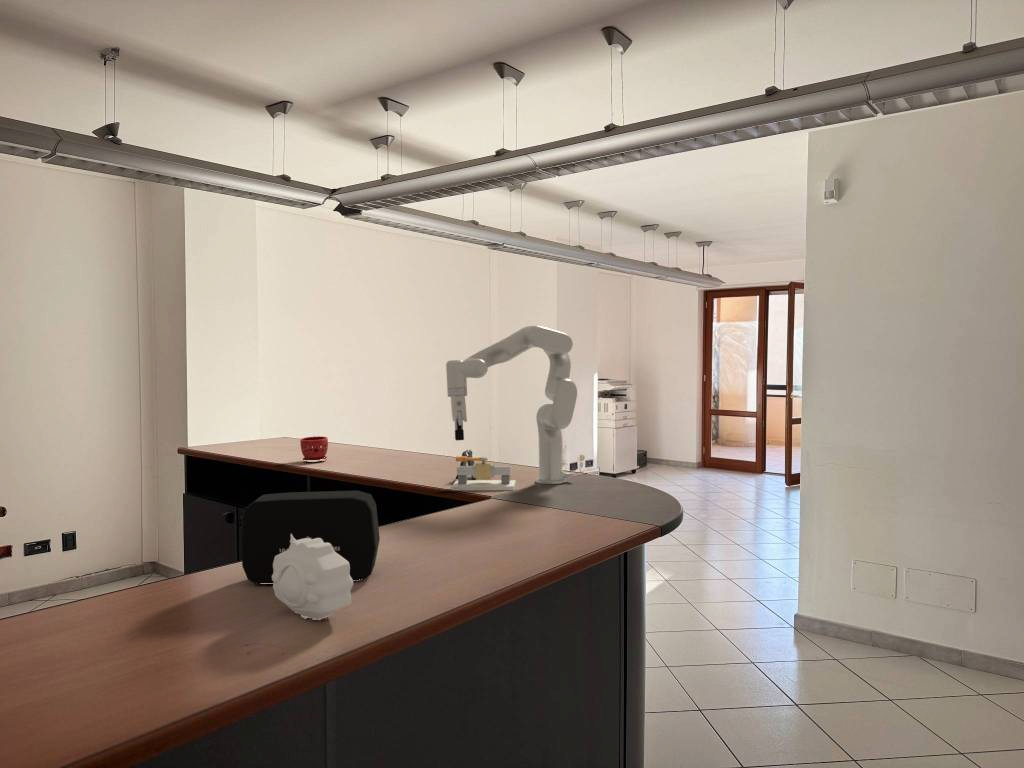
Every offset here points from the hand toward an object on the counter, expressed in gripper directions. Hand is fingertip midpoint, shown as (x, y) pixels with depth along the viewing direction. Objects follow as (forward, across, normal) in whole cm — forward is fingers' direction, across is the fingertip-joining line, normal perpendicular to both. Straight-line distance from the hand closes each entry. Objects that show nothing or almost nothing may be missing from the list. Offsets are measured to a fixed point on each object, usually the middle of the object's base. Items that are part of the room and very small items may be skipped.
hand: (459, 439), depth 271 cm
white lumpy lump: (+18, -125, +44) cm, 133 cm away
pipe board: (+20, +4, -9) cm, 22 cm away
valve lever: (+9, +6, -5) cm, 12 cm away
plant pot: (+18, +92, +64) cm, 113 cm away
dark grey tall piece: (+20, +24, -5) cm, 32 cm away
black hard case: (+18, -98, +45) cm, 109 cm away
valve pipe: (+16, +4, -9) cm, 19 cm away
